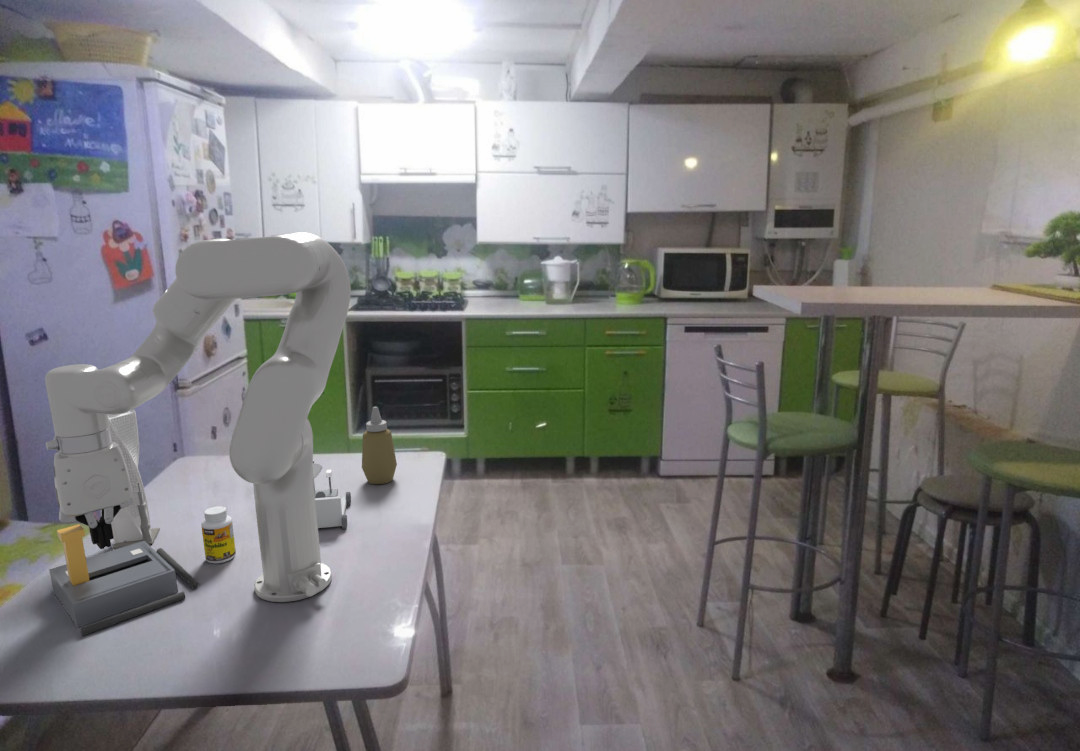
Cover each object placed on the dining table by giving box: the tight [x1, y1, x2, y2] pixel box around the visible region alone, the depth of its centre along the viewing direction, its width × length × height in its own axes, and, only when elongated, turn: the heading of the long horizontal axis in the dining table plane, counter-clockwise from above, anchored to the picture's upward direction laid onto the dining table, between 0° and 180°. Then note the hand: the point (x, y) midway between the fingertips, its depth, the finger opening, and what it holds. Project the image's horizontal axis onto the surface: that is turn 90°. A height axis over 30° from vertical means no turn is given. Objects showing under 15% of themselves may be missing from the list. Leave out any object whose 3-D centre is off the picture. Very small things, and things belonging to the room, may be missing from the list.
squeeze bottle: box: [361, 406, 398, 485], centre depth 171 cm, size 8×8×18 cm
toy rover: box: [313, 460, 352, 530], centre depth 153 cm, size 18×10×12 cm
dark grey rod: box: [155, 547, 199, 589], centre depth 131 cm, size 18×1×1 cm, turn 44°
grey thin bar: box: [79, 591, 186, 636], centre depth 117 cm, size 1×15×1 cm, turn 134°
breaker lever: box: [56, 523, 90, 586], centre depth 119 cm, size 3×3×10 cm
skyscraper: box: [108, 409, 161, 551], centre depth 141 cm, size 8×8×28 cm
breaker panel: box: [48, 541, 179, 628], centre depth 124 cm, size 16×15×4 cm
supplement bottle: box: [200, 505, 237, 564], centre depth 135 cm, size 5×5×10 cm
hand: (103, 545), depth 122 cm, fingers closed
